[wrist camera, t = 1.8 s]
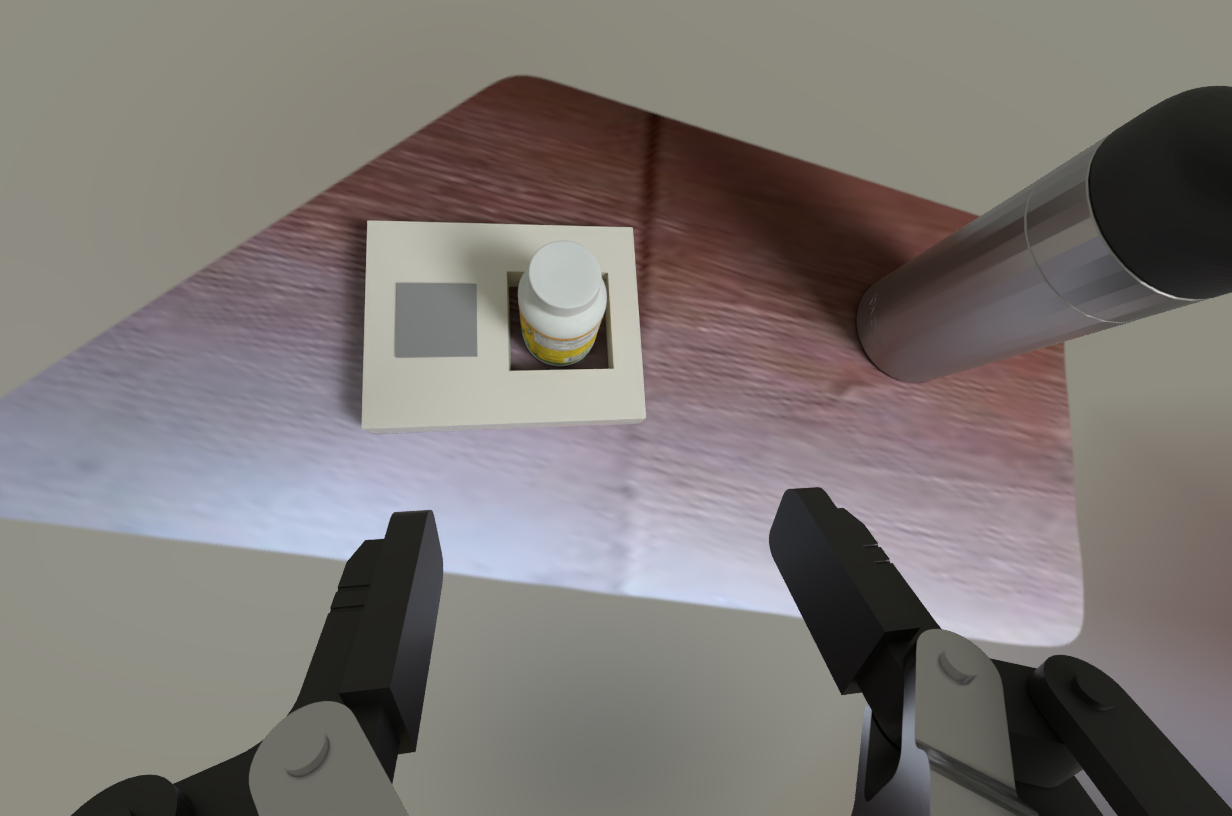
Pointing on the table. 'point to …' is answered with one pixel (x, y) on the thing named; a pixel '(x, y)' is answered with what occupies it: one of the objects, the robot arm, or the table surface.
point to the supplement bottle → (561, 303)
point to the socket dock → (485, 331)
